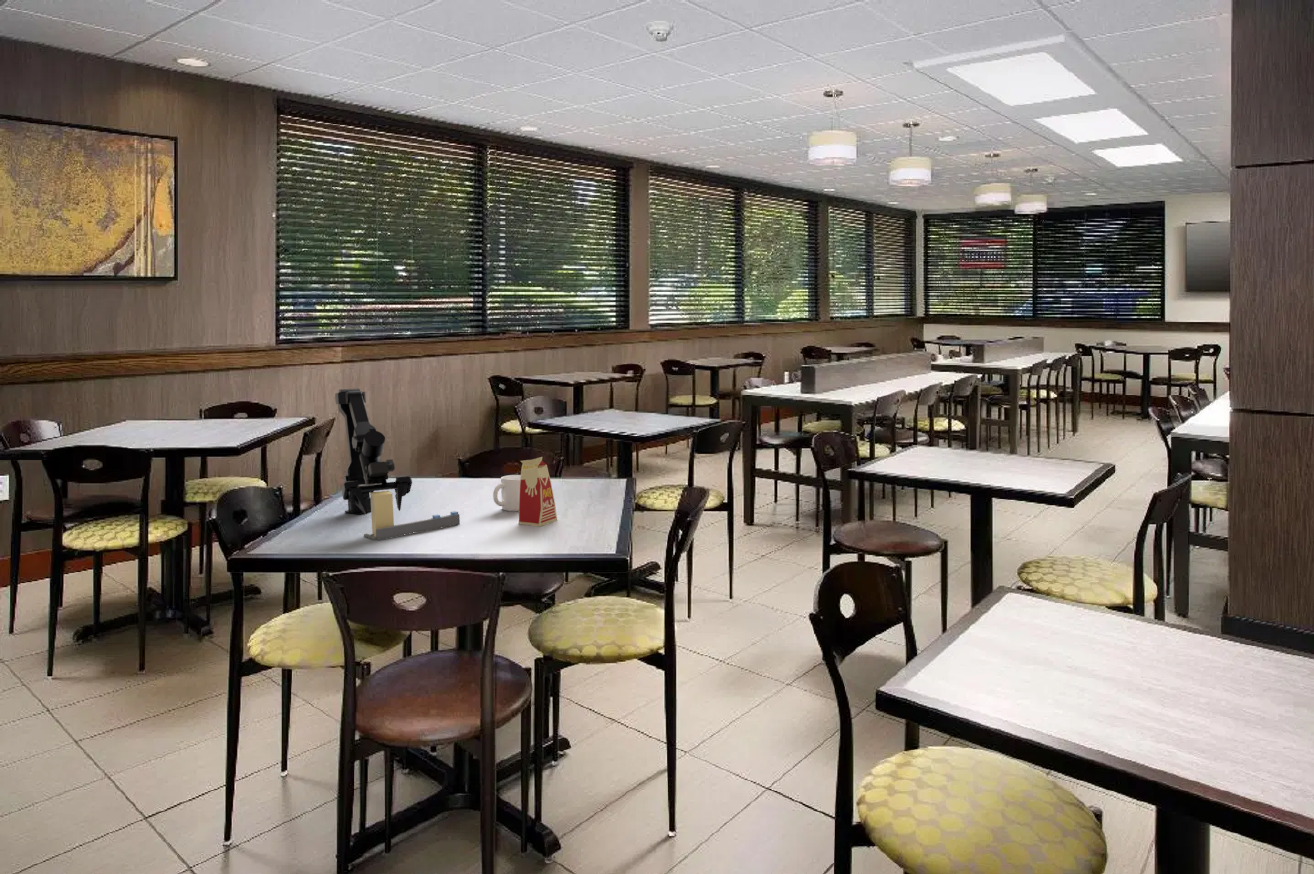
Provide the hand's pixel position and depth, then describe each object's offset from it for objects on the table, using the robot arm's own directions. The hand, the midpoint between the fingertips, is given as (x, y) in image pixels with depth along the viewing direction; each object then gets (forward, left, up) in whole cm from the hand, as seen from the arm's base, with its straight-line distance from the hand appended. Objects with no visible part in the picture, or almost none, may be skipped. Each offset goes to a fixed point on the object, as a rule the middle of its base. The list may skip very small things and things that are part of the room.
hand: (383, 511), depth 248 cm
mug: (+14, +42, -7) cm, 45 cm away
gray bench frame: (+3, +8, -7) cm, 11 cm away
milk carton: (+31, +31, -7) cm, 44 cm away
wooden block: (-1, +1, -7) cm, 7 cm away
